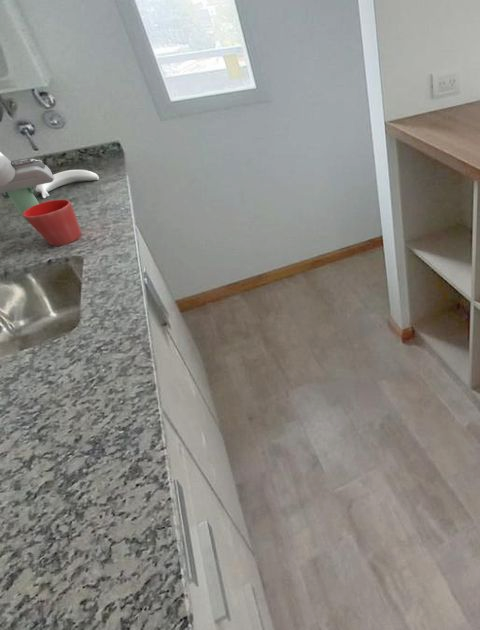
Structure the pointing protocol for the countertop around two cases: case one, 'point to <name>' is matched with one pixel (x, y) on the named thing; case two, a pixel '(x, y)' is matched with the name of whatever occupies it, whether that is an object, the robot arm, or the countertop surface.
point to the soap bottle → (22, 199)
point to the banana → (66, 180)
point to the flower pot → (54, 221)
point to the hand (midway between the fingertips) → (20, 193)
